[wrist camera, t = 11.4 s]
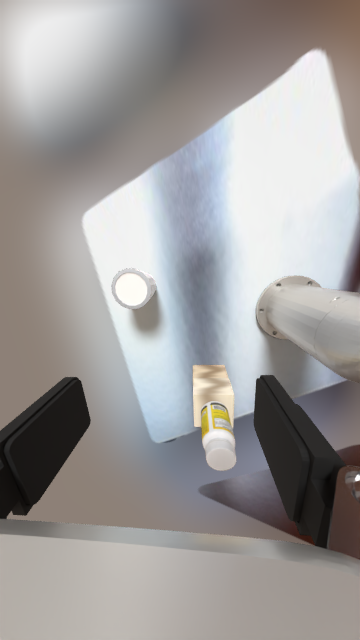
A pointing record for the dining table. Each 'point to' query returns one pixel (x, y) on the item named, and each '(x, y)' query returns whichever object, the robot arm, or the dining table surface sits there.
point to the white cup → (133, 288)
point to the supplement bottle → (217, 436)
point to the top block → (212, 396)
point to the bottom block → (209, 371)
